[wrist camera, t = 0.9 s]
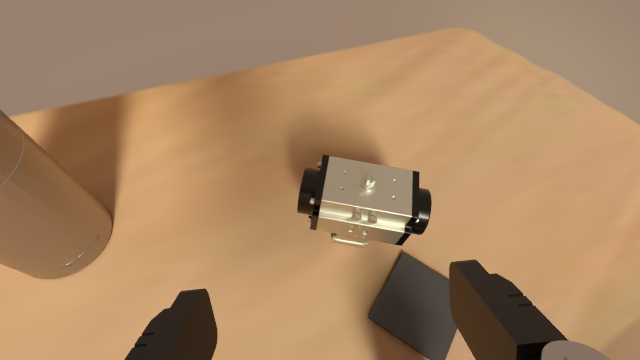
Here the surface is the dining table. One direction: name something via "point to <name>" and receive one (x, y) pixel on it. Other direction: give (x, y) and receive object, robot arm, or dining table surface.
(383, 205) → the pneumatic valve
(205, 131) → the dining table surface
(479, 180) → the dining table surface
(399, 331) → the pad
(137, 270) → the dining table surface
